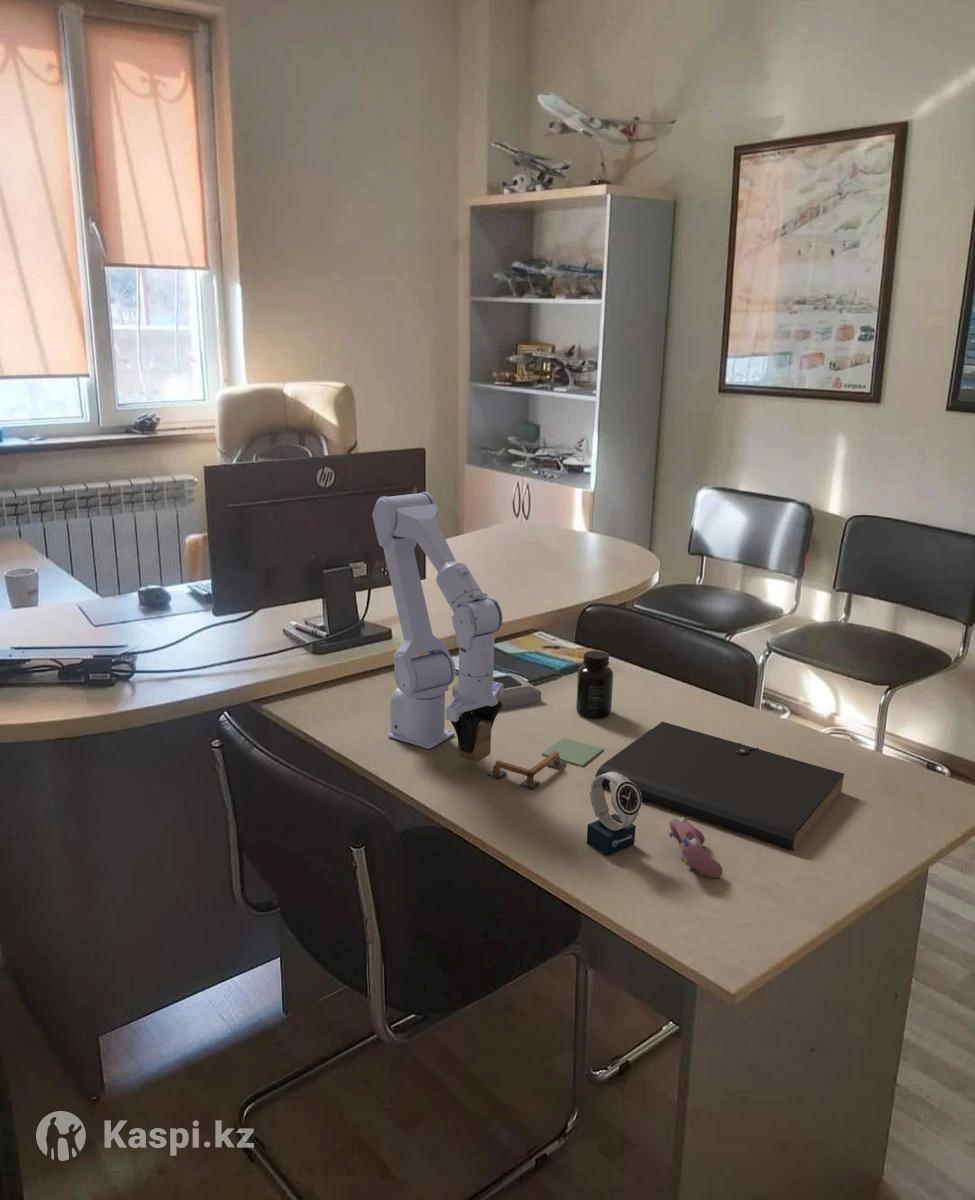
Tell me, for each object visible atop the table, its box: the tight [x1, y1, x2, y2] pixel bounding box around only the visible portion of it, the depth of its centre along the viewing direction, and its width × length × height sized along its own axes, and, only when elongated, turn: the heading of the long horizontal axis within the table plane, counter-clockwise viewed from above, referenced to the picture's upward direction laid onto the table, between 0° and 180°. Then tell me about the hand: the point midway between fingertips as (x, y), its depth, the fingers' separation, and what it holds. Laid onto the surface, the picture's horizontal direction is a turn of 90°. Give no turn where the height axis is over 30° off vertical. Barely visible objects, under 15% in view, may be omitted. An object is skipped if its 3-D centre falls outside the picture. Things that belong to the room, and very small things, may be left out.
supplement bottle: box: [575, 650, 614, 720], centre depth 188 cm, size 7×7×12 cm
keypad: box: [451, 673, 542, 709], centre depth 195 cm, size 10×4×15 cm
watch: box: [586, 772, 643, 857], centre depth 142 cm, size 6×8×11 cm
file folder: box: [594, 721, 846, 852], centre depth 161 cm, size 33×4×24 cm
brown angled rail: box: [486, 751, 567, 791], centre depth 165 cm, size 9×11×2 cm
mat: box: [541, 737, 604, 768], centre depth 173 cm, size 8×8×1 cm
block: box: [457, 719, 492, 764], centre depth 165 cm, size 4×4×6 cm
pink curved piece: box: [667, 816, 723, 879], centre depth 139 cm, size 10×5×7 cm, turn 5°
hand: (474, 746), depth 165 cm, fingers closed on block, 4 cm apart
